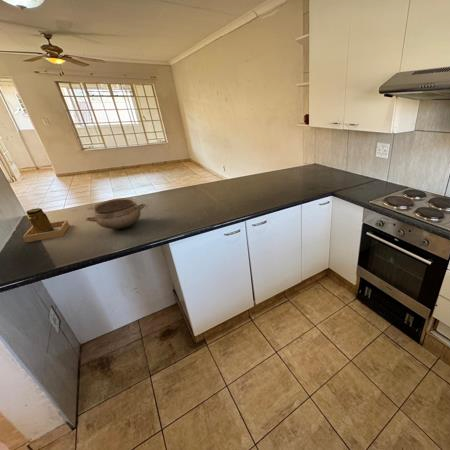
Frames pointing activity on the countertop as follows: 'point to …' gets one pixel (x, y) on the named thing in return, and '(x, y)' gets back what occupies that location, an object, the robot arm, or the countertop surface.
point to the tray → (33, 236)
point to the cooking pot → (116, 213)
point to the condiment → (40, 221)
